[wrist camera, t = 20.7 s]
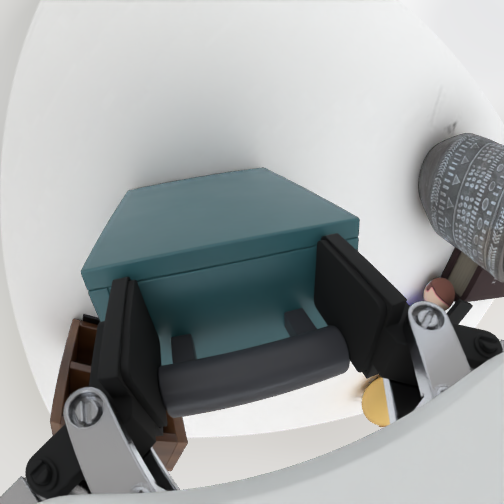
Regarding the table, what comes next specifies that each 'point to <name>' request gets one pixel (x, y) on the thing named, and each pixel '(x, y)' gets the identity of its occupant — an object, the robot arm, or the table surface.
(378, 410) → the stress ball
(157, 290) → the teal shelf
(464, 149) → the planter
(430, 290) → the figurine character
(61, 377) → the walnut shelf
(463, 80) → the table surface
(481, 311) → the table surface
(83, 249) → the table surface
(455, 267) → the book
